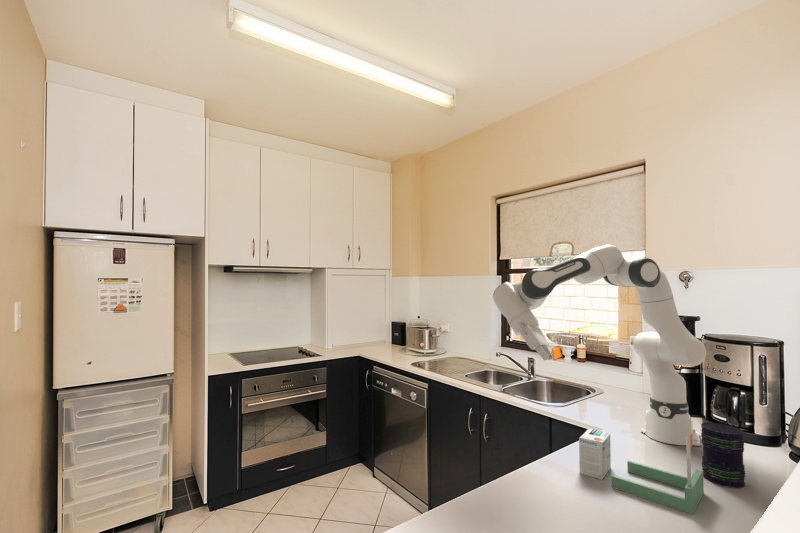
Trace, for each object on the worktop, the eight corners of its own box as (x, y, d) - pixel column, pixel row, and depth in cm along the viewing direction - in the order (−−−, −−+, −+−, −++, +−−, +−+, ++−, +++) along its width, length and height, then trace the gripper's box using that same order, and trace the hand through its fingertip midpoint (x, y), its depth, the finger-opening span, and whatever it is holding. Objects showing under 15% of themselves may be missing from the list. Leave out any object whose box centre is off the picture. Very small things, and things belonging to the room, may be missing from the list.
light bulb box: (588, 461, 128) (587, 427, 129) (611, 468, 124) (611, 432, 125) (578, 473, 120) (578, 436, 121) (603, 480, 116) (602, 442, 116)
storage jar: (744, 492, 110) (742, 436, 111) (699, 480, 117) (698, 427, 118) (746, 480, 117) (744, 428, 118) (704, 469, 124) (703, 420, 125)
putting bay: (628, 470, 122) (627, 410, 123) (703, 493, 109) (701, 425, 110) (611, 487, 112) (610, 421, 113) (692, 514, 99) (690, 439, 100)
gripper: (526, 316, 129) (553, 354, 123) (537, 321, 147) (561, 354, 141) (510, 327, 131) (535, 365, 125) (523, 331, 149) (545, 363, 143)
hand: (549, 359), depth 133 cm, fingers open, 8 cm apart
